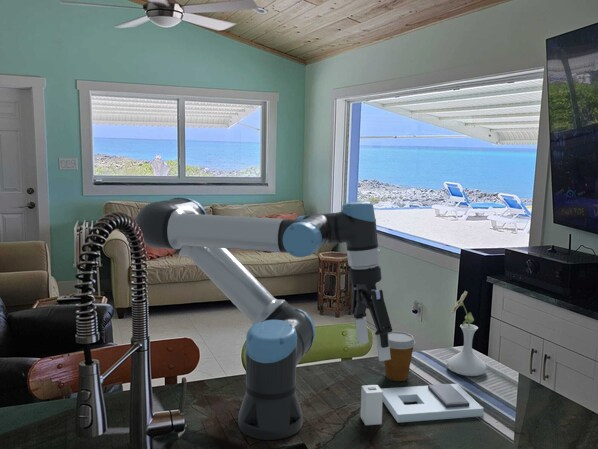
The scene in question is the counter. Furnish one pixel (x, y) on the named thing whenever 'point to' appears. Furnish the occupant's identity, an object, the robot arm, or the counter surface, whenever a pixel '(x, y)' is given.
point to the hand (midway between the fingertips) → (373, 351)
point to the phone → (448, 395)
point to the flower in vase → (466, 349)
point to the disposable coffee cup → (399, 355)
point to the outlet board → (426, 404)
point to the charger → (371, 404)
